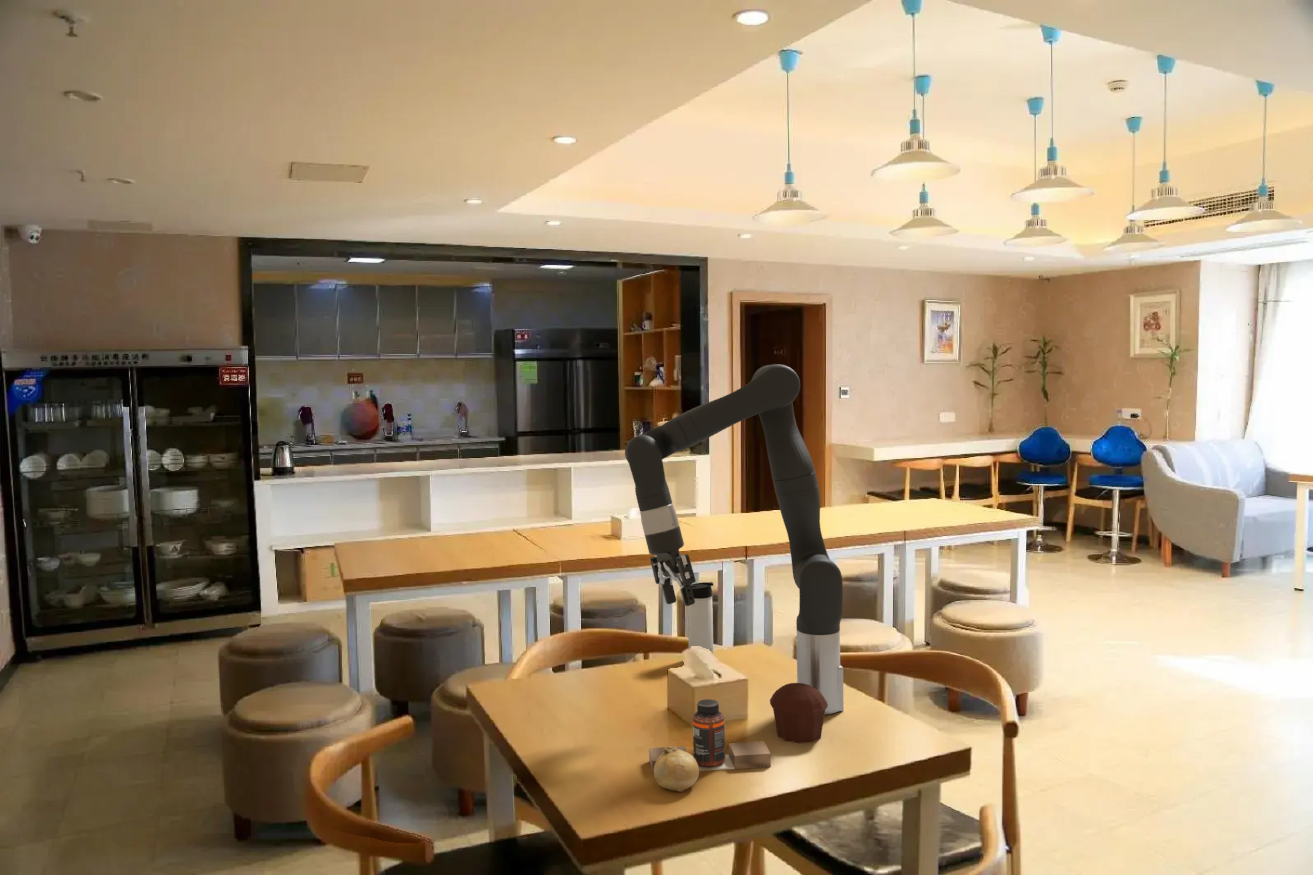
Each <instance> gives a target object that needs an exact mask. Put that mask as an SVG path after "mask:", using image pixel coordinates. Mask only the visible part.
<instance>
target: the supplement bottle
mask: <svg viewBox="0 0 1313 875" xmlns="http://www.w3.org/2000/svg"><path fill="white" fill-rule="evenodd" d="M696 706H697V707H696V709H697V710H696V711H695V712H694V714H693V715H692V741H693V742H692V743H693V750H692V751H693V757H694V759H695V760H696V762H697V764H698V765H701V766H705V767H714V766H718V765H721V764H722V763H723V762H724V761H725V755H726V738H725V737H726V735H725V734H726V733H725V717H724V714H723V713H722V712H721V711H720V707H719V706H720V705H719V702H718V700H715V699H711V698H710V699H709V698H708V699H706V698H705V699H701V700H699V701H698V702H697V703H696Z"/></svg>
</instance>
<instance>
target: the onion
mask: <svg viewBox="0 0 1313 875" xmlns="http://www.w3.org/2000/svg"><path fill="white" fill-rule="evenodd" d="M664 747H665V748H664V749H663V753H662V754H661V755H660V757H659V758H658V759H657V761H656V763H655V766H654V774H653V776H654V779H655V781H656V782H657V783H658V785H659V787H661V788H662V789H663V788H664V789H666V790H670V791H673V792H680V793H682V792H684V791H687V790H688V789H689V788H691V787H692V786H693V785H694V784H695V783H696V782H697V780H698V778H699V775H700V771H699V767H698V764H697V762H696V760H695V759H694V755H692V754H691V753H689V752H687V751H686V752H685V751H683V750H680V749H678V748H677V747H676V745H673V746H668V745H667V746H664ZM664 751H665V752H664Z"/></svg>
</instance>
